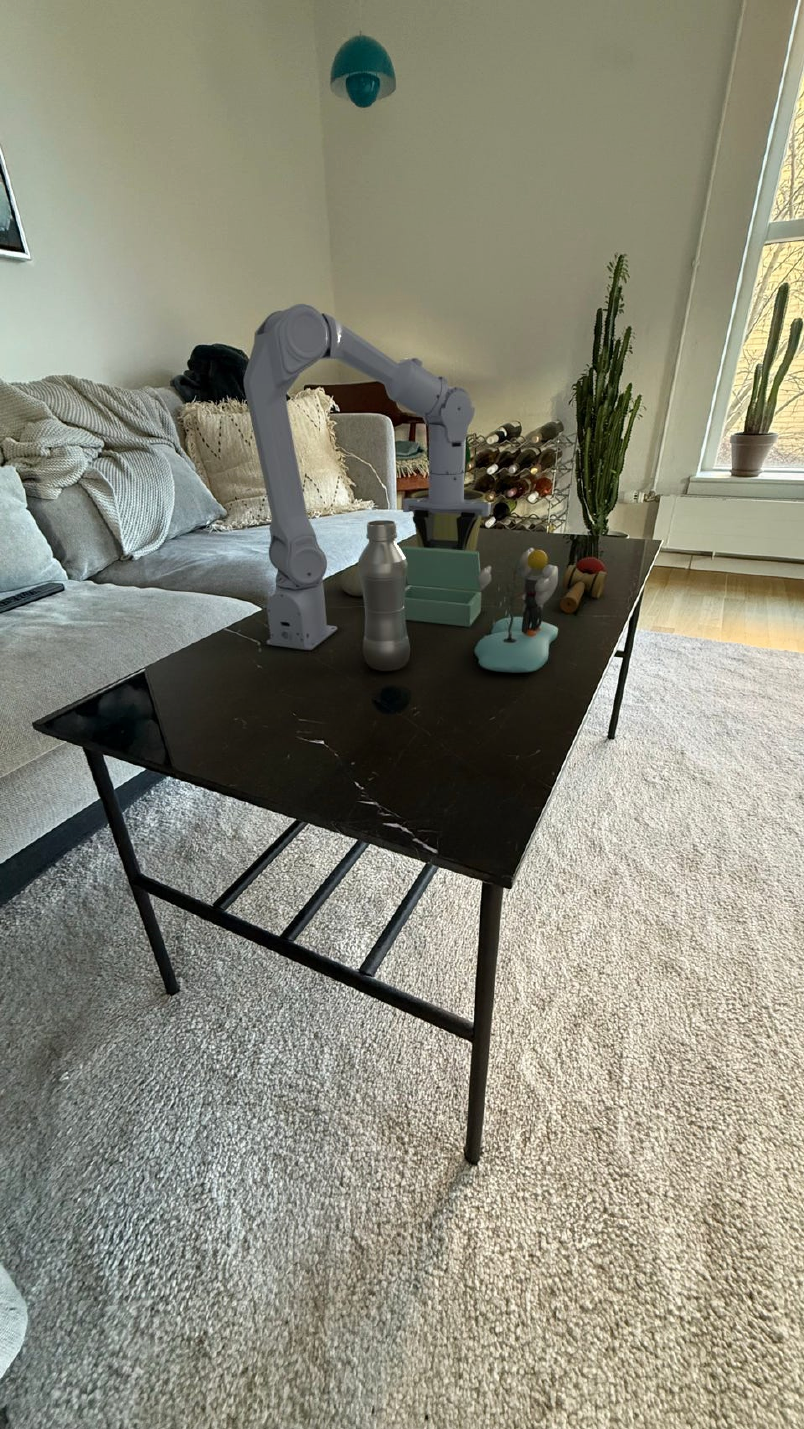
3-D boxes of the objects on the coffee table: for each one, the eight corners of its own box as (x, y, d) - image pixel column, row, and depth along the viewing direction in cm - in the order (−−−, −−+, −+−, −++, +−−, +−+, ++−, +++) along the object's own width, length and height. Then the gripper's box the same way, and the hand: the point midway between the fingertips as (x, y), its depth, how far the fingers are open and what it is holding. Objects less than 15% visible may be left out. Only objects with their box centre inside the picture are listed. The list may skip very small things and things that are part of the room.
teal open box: (469, 627, 98) (470, 605, 96) (393, 618, 102) (393, 597, 100) (480, 612, 104) (481, 591, 102) (408, 604, 108) (408, 585, 106)
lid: (477, 554, 95) (484, 536, 98) (399, 548, 100) (407, 531, 102) (481, 591, 102) (487, 573, 104) (407, 584, 106) (414, 567, 108)
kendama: (594, 623, 102) (614, 580, 114) (591, 589, 98) (612, 549, 111) (549, 624, 106) (574, 583, 118) (545, 591, 102) (571, 552, 115)
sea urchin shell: (392, 588, 110) (360, 558, 108) (364, 617, 113) (332, 589, 111) (394, 574, 118) (364, 546, 116) (367, 601, 121) (337, 574, 119)
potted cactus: (493, 561, 132) (502, 410, 118) (462, 579, 121) (467, 414, 106) (433, 553, 140) (434, 410, 125) (398, 569, 128) (394, 414, 114)
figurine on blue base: (501, 624, 99) (507, 531, 91) (566, 633, 95) (578, 536, 87) (460, 672, 83) (464, 564, 75) (536, 685, 79) (548, 572, 72)
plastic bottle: (405, 678, 82) (402, 529, 72) (358, 675, 83) (348, 528, 73) (414, 659, 87) (412, 518, 77) (369, 656, 88) (362, 517, 79)
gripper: (496, 470, 96) (492, 554, 103) (412, 468, 101) (413, 548, 107) (486, 476, 90) (482, 565, 97) (397, 473, 95) (399, 558, 102)
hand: (445, 557), depth 102 cm, fingers closed on lid, 5 cm apart
